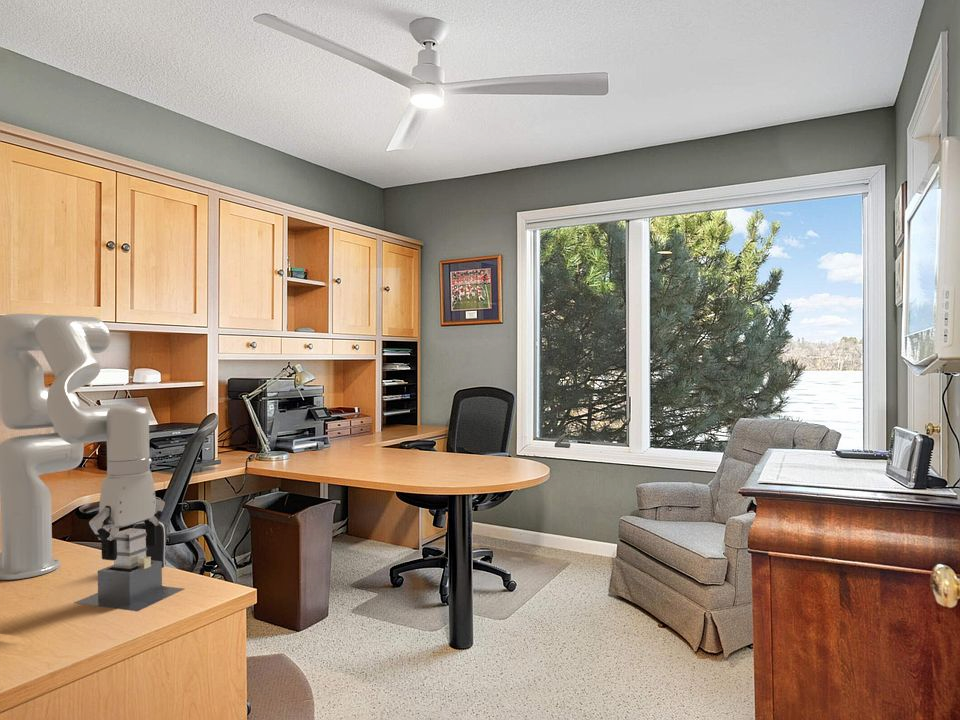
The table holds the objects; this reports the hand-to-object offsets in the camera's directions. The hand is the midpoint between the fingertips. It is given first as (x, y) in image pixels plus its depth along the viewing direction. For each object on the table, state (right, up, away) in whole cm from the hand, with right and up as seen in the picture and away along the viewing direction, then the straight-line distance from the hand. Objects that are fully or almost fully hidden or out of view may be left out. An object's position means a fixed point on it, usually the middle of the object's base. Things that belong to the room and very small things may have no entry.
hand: (130, 552), depth 126 cm
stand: (0, -10, 0) cm, 10 cm away
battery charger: (-6, -10, +19) cm, 22 cm away
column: (0, -9, 0) cm, 9 cm away
